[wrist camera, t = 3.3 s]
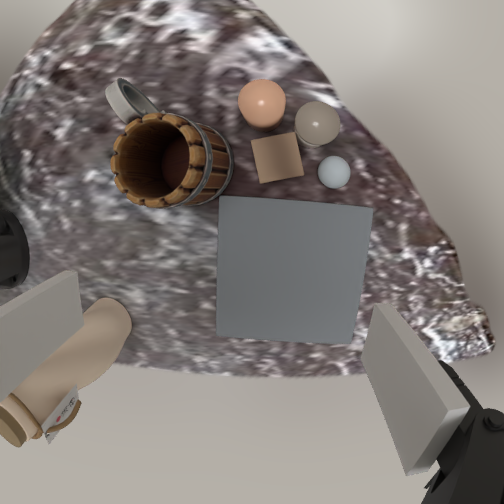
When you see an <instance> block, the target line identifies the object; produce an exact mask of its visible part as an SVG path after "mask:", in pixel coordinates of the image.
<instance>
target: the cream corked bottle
mask: <svg viewBox="0 0 504 504" xmlns="http://www.w3.org/2000/svg"><path fill="white" fill-rule="evenodd" d="M83 319H84V326H83V327H82V328H81V329H79V330H78V331H77V332H76V333H75V334H74V335H73V336H71V337H70V338H69V339H68V340H67V341H66V342H65V343H64V344H62V345H61V346H60V347H59V348H58V349H57V350H56V351H55V352H54V353H53V354H51V355H50V356H49V357H48V358H47V359H46V360H45V361H44V362H43V363H42V364H41V365H39V366H38V367H37V368H36V369H35V370H34V371H33V372H32V373H31V374H30V375H29V376H28V377H27V378H26V379H25V380H24V381H23V382H21V383H20V384H19V385H18V386H17V387H16V388H15V389H14V390H13V391H12V392H11V393H10V394H9V395H8V396H7V397H6V398H5V399H4V400H3V401H2V402H1V403H0V434H1V435H2V436H3V437H4V438H5V439H6V440H7V441H8V442H9V443H11V444H12V445H14V446H16V447H21V446H22V444H23V443H24V442H25V441H26V442H27V441H29V440H30V439H31V438H32V439H38V438H40V437H41V436H42V433H44V434H45V437H46V439H47V441H48V444H50V443H51V441H52V440H53V439H54V437H55V436H56V435H57V433H58V432H59V431H60V429H62V428H64V427H66V426H67V425H68V424H69V423H70V422H72V420H73V419H74V418H75V416H76V414H77V413H78V410H79V408H80V405H81V401H79V397H78V390H79V389H81V388H83V387H85V386H87V385H89V384H90V383H92V382H94V381H95V380H96V379H98V378H99V377H100V376H101V375H102V374H104V373H105V372H106V370H108V369H109V368H110V366H111V365H112V364H113V363H114V361H115V360H116V358H117V357H118V355H119V353H120V351H121V349H122V347H123V345H124V342H125V340H126V338H127V337H128V335H129V334H130V332H131V328H132V323H131V318H130V315H129V313H128V312H127V310H126V309H125V308H124V306H123V305H122V304H120V303H119V302H118V301H116V300H114V299H111V298H101V299H99V300H97V301H96V302H95V303H94V304H93V305H92V306H91V307H89V308H88V309H87V310H86V311H85V312H84V313H83ZM47 433H50V434H48V435H47Z"/></svg>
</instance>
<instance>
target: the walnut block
mask: <svg viewBox="0 0 504 504" xmlns="http://www.w3.org/2000/svg"><path fill="white" fill-rule="evenodd" d="M251 144H252V148H253V153H254V158H255V162H256V167H257V171H258V176H259V181H260V184H261V183H265V182H270V181H276V180H281V179H286V178H291V177H297V176H302V175H304V171H303V167H302V162H301V157H300V153H299V148H298V143H297V139H296V134H295V132H291V133H286V134H280V135H275V136H270V137H265V138H260V139H255V140H251Z"/></svg>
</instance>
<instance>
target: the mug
mask: <svg viewBox="0 0 504 504" xmlns="http://www.w3.org/2000/svg"><path fill="white" fill-rule="evenodd" d="M105 94H106V97H107V100H108V102H109V103H110V105H111V107H112V108H113V110H114V111H115V113H116V114H117V115H118V116H119V117H120V118H121V120H122V121H123V122H125V123H126V124H127V126H126V127H125V130H124V131H125V134H120V135H119V136H118V138H117V139H116V141H115V144H114V146H113V147H114V151H115V153H116V154H115V155H114V156H112V158H111V170H112V172H113V173H114V174H116V177H115V184H116V186H117V187H118V189H119V190H120V191H121V192H122V193H127V194H126V195H127V198H128V199H129V200H130V201H131V202H133V203H135V204H138V205H145V206H147V207H150V208H158V209H165V208H172V207H177V206H181V205H186V206H194V205H200V204H205V203H207V202H209V201H211V200H213V199H215V198H216V197H217V196H218V195H220V194H221V193H222V192H223V191H224V189H225V188H226V186H227V185H228V183H229V181H230V179H231V176H232V173H233V165H234V160H233V154H232V150H231V148H230V146H229V143H228V141H227V140H226V139H225V138H224V137H223V135H222V134H221V133H219V132H218V131H216V130H215V129H213V128H212V127H209V126H206V125H203V124H200V123H195V122H193V121H191V120H190V119H188V118H185V117H183V116H179V115H176V114H172V113H166V112H165V111H164V110H163V111H161V112H160V111H159V110H158V109H157V108H156V106H155V105H154V104H153V103H152V102H151V101H150V100H149V99H148V98H147V97H146V96H145V95H144V94H143V93H142V92H141V91H140V90H139V89H138V88H136V87H135V86H134V85H132V84H131V83H130V82H128V81H127V80H125V79H122V78H118V79H117V80H116V81H115V82H114V83H112V84H111V85H110V86H109V87H108V88H106V90H105ZM138 109H139V110H140V111H139V110H138Z"/></svg>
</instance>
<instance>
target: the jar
mask: <svg viewBox="0 0 504 504" xmlns="http://www.w3.org/2000/svg"><path fill="white" fill-rule="evenodd" d="M339 130H340V119H339V116H338V114H337V112H336V111H335V110H334V109H333V108H332V107H331V106H330V105H328V104H326V103H323V102H319V101H313V102H309V103H307V104H305V105H303V106H302V107H301V108H300V109H299V111H298V112H297V115H296V117H295V125H294V128H293V132H295V134H296V139H297V143H298V144H300V145H301V146H303V147H305V148H309V149H313V148H317V147H319V146H321V145H324V144H327V143H329V142H331V141H332V140H333V139H334V138H335V137H336V136H337V135H338V133H339Z"/></svg>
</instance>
